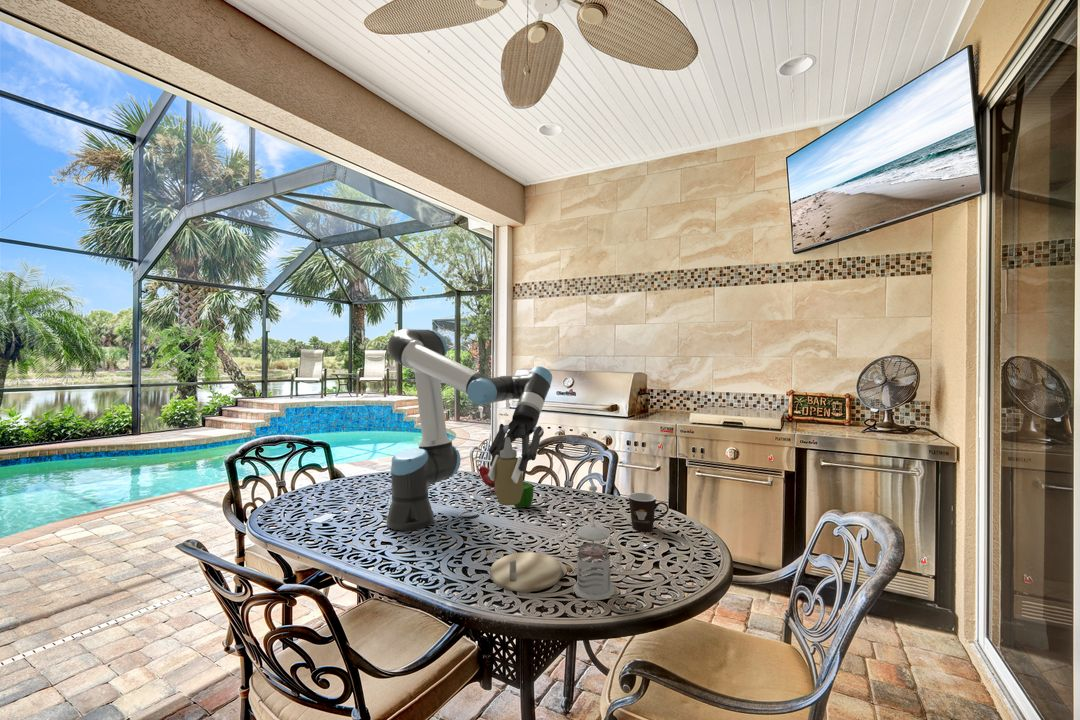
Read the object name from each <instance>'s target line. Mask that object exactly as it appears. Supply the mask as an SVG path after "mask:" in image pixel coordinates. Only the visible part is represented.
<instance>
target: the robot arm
mask: <svg viewBox="0 0 1080 720" xmlns="http://www.w3.org/2000/svg"><path fill="white" fill-rule="evenodd" d="M387 350H388V351H387V352H388V354H389V356H390V357H391V359H392V360H393V361H395V362H396V363H398V364H399V365H401V366H403V367H405V368H408V369H409V370H411V371H412V372H413V373H414V377H415V387H416V388H415V389H416V395H417V396H416V397H417V403H418V404H417V405H418V412H419V414H418V415H419V421H420V428H421V429H420V430H421V439H422V440H421V442H420V443H419V444H418V448H411V449H405V450H402V451H399V452H398V453H397V452H396V453H395V454H394V455H393V456H392V459H391V466H390V474H391V475H390V477H391V502H390V507H389V510H388V513H387V516H386V527H387V526H388V527H389V528H388V527H387V528H388V529H390V528H391V529H390V530H392V529H394V530H393V531H397V530H402V531H401V532H408V531H409V532H410V531H417V530H418V531H419V530H421V529H425V528H427V527H429V526H431V525H432V524H433V523H434V522H435V514H434V513H435V512H434V511H433V509H432V508H433V507H432V505H431V502H430V499H429V486H431V485H433V484H436V483H439V482H441V481H446V480H447V479H449V478H451V477H453V476H454V475H456V473H457V472H458V471H459V469H460V466H461V459H462V458H461V454H460V451H459V450H458V449H457V448H456V446H455V445H453V441H452V439H450V438H449V437H448V435H447V427H446V425H447V424H446V417H445V410H444V400H443V393H442V383H444V384H446V385H448V386H450V387H451V388H453V389H456V390H457V391H459V392H462V393H463V394H465V395H467V398H468V399H469V400H470V402H471V403H472V404H475V405H478V406H479V405H480V406H481V405H482V406H483V405H489V404H493V403H498V402H503V401H508V400H518V401H517V404H516V407H515V409H514V412H513V414H512V417H511V421H510V422H509V423H508V424H505V425H504V424H503V423H500V424H499V426H498V431H497V433H496V435H495V437H494V439H493V441H492V443H491V445H490V447H489V449H488V452H489V454H490V456H491V457H492V458H491V461H490V463H489V466H490V469H489V470H490V471H489V473H488V476H489V478H490V479H491V480H492V481H494V479H495V476H496V462H497V460H498V459H499V458H501V457H500V451H501V450H504V444H505V439H506V437H510V440H511V444H513V443H514V442H515V441H516V440H517V439H521V454H520V455H521V456H518V457H517V458H518V460H517V463H516V466H515V469H514V471H513V474H512V477H511V478H512V480H513V481H514V483H517V482H518V480H519V477H520V474H521V471H522V472H524V471H525V470H526V467H527V464H528V462H529V461H535V460H536V458H537V454H538V450H539V446H540V441H541V438H542V436H543V435H544V430H543V427H542V426H541V425H538V426H537V424H538V421H539V418H540V417H541V416H540V415H541V413H542V410H543V407H544V406H545V405H544V404H545V400H546V398H547V396H548V393H549V390H550V389H551V385H552V382H553V374H552V372H551V371H550V370H549V369H548V368H546V367H543V366H539V365H538V366H534V367H533V368H531V369H530V371H529V372H528V374H521V375H500V376H496V377H495V376H494V377H489V376H486V375H484V374H482V373H480V372H478V371H477V370H475V369H473V368H469V367H468V366H465V365H464V364H462V363H459V362H457V361H455V360H454V359H451V358H449V357H447V356H446V355H447V353H448V344H447V340H446V339H445V337H444V336H443V335H442V334H441V333H440V332H438V331H436V330H431V329H410V328H403V329H399V330H397V331H395V332H394V333H393V334H392V335H390V337H389V339H388V342H387ZM441 382H442V383H441ZM532 434H533V435H532ZM530 435H532V439H531V443H530Z"/></svg>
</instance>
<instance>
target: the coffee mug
mask: <svg viewBox="0 0 1080 720" xmlns="http://www.w3.org/2000/svg"><path fill="white" fill-rule="evenodd" d="M656 502H657V496H656V495H654V494H652V493H647V492H633V493H630V494H628V503H629V511H630V513H629V514H630V520H631V521H630V522H631V527H632V530H634V531H636V532H642V533H648V532H651V531H653V529H654V523H655V521H657V520H659V519H661V518H662V517H664V516H666V515H667V514H668V512H669V505H668V504H667V503H666V502H662V501H660V502H657V503H656ZM659 505H664V506H665V507H666V511H665V512H664V513H662V514H661V515H659V516H657V517H656V518H655V511H656V509H657V508H658V506H659Z"/></svg>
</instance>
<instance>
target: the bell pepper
mask: <svg viewBox="0 0 1080 720" xmlns="http://www.w3.org/2000/svg"><path fill="white" fill-rule="evenodd" d="M522 479H523V480H524V478H523V477H522ZM523 487H524V490H523V493H522V496H521V500H520V502H519V503H518V504H515V505H513V506H514V507H515V508H518V509H521V508H529V507H530V506H531V505H532V502H533V497H534V486H533V484H532V483H527V482H525V481H523Z"/></svg>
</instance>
